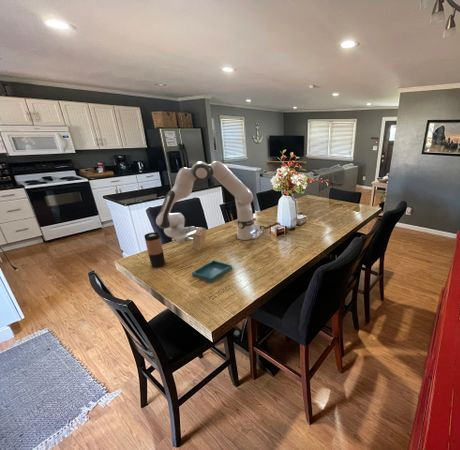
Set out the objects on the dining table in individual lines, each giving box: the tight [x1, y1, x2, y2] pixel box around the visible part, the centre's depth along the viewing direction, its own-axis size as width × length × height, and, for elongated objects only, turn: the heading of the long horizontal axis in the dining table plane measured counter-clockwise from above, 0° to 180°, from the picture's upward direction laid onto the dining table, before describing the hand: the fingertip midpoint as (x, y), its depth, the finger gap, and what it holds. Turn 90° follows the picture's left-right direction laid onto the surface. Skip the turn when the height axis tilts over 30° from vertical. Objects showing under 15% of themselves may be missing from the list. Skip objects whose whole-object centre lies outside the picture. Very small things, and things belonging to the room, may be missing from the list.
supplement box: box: [192, 226, 207, 251], centre depth 157 cm, size 8×5×13 cm, turn 173°
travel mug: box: [144, 231, 166, 269], centre depth 142 cm, size 8×8×20 cm
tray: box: [191, 259, 233, 283], centre depth 137 cm, size 16×14×2 cm
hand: (198, 237), depth 158 cm, fingers closed on supplement box, 6 cm apart
